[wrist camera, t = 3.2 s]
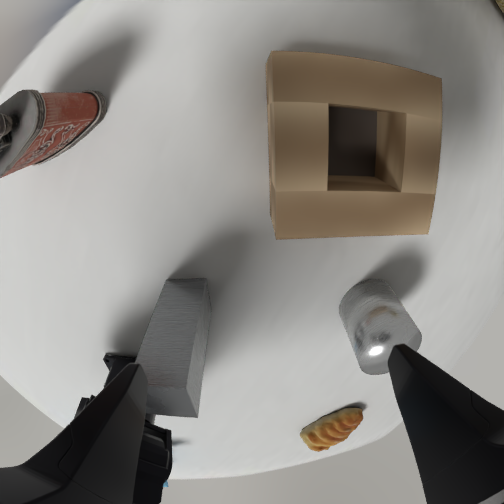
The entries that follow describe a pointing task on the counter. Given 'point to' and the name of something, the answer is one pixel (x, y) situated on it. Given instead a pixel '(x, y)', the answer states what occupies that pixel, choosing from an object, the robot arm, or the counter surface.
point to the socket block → (351, 146)
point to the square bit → (176, 348)
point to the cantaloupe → (500, 4)
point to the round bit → (376, 324)
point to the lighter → (45, 125)
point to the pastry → (331, 428)
